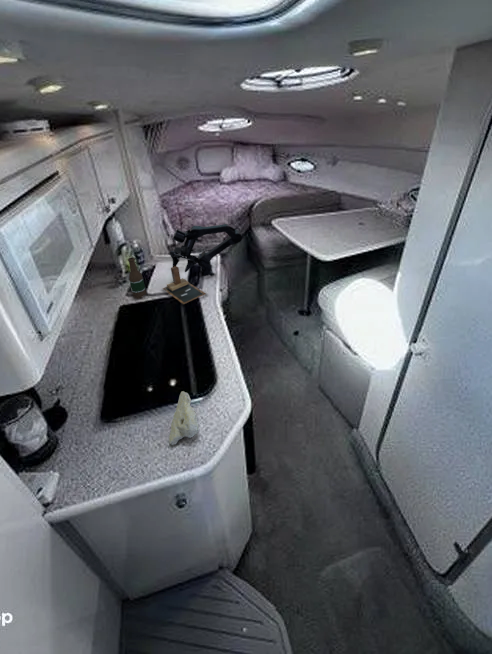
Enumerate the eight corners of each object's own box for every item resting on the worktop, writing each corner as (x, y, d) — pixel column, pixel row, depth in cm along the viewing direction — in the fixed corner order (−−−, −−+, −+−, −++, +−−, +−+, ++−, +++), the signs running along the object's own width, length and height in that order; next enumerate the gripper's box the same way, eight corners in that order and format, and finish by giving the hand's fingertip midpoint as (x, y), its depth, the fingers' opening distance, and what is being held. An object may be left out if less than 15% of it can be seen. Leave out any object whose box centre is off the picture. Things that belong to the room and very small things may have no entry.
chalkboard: (162, 290, 198) (162, 288, 197) (184, 281, 206) (184, 279, 206) (183, 306, 182) (183, 304, 181) (206, 295, 190) (206, 293, 189)
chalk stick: (185, 291, 193) (185, 290, 193) (189, 288, 195) (189, 288, 195) (186, 291, 193) (185, 291, 192) (190, 289, 195) (190, 288, 195)
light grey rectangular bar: (181, 295, 189) (180, 295, 189) (186, 293, 190) (186, 293, 190) (181, 296, 188) (181, 295, 188) (187, 294, 190) (187, 293, 190)
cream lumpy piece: (192, 456, 107) (215, 412, 110) (173, 451, 104) (197, 405, 107) (176, 434, 120) (196, 395, 123) (158, 428, 116) (180, 388, 120)
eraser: (167, 288, 197) (163, 269, 190) (183, 282, 203) (180, 262, 196) (172, 292, 193) (168, 272, 186) (188, 285, 199) (185, 266, 192)
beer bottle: (135, 292, 197) (126, 255, 186) (148, 292, 197) (140, 255, 185) (131, 299, 190) (121, 261, 179) (144, 299, 190) (135, 261, 178)
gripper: (168, 238, 196) (158, 262, 193) (193, 243, 188) (183, 268, 185) (179, 245, 206) (170, 269, 203) (203, 250, 197) (194, 275, 194)
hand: (179, 270), depth 196 cm, fingers open, 9 cm apart
